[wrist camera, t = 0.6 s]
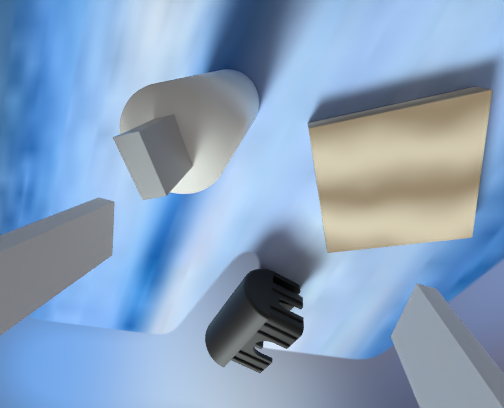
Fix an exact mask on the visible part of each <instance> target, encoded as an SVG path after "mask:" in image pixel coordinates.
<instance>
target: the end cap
mask: <svg viewBox="0 0 504 408" xmlns="http://www.w3.org/2000/svg"><path fill="white" fill-rule="evenodd" d="M299 293H300V286H299V285H298V284H296V283H294V282H292V281H290V280H289V279H287V278H285V277H283V276H281V275H279V274H277V273H275V272H273V271H270V270H263V269H257V270H253V271H251V272H249V273H248V274H247V275H246V277H245V278H244V279H243V281H242V282H241V283H240V285H239V286H238V287H237V289H236V290H235V291H234V293H233V294H232V295H231V297H230V298H229V299H228V301H227V302H226V303H225V305H224V306H223V307H222V309H221V310H220V311H219V313H218V314H217V315H216V317H215V318H214V319H213V321H212V322H211V323H210V325H209V326H208V328H207V331H206V335H205V336H206V337H205V342H206V347H207V350H208V352H209V354H210V356H211V357H212V358H213V360H214V361H215V362H216V363H218V364H219V365H221V366H222V367H225V366H226V364H227V363H228V362H229V361H230V360H232V361H234V362H237V363H239V364H241V365H243V366H245V367H248V368H250V369H252V370H254V371H256V372H259V373H261V372H262V371H263V370H264V369H265V368H266V367H268V366H269V365H270V364H271V363H272V358H271V357H268V356H266V355H264V354H262V353H260V352H258V351H257V350H256V349H255V347H257V348H260V349H262V348H263V341H269V342H273V343H275V344H277V345H279V346H281V347H284V348H286V349H287V348H288V347H290V346H291V345H292V344H293V343H294V342H295V341H296V340H297V339H298V338H299V337H300V336H301V335H302V333H303V330H304V323H303V317H301V316H299V315H297V314H295V313H293V312H291V311H290V310H291V309H292V308H293V307H294V306H295V307H297V308H299V309H302V308H303V298H302V297H301V296H299V295H298V294H299ZM254 346H255V347H254Z"/></svg>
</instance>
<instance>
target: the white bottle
mask: <svg viewBox="0 0 504 408" xmlns="http://www.w3.org/2000/svg"><path fill="white" fill-rule="evenodd" d="M258 110H259V96H258V92H257V90H256V87H255V85H254V84H253V82H252V81H251V80H250V79H249V78H248V77H247V76H246V75H245V74H243V73H241V72H239V71H237V70H233V69H223V70H218V71H214V72H209V73H204V74H199V75H194V76H189V77H185V78H180V79H175V80H170V81H165V82H160V83H156V84H151V85H148V86H146V87H143V88H142V89H140V90H138V91H137V92H136V93H135V94H133V95H132V97H131V98H130V99H129V100H128V102H127V103H126V105H125V107H124V109H123V112H122V115H121V119H120V135H118V136H115V137H113V139H114V141H115V143H116V145H117V147H118V149H119V152H120V154H121V156H122V158H123V160H124V162H125V164H126V166H127V168H128V170H129V173H130V175H131V177H132V179H133V181H134V183H135V185H136V187H137V189H138V191H139V194H140V196H141V198H142V200H146V199H152V198H157V197H163V196H167V195H168V194H169V192H172V193H177V194H190V193H196V192H199V191H202V190H204V189H206V188H208V187H209V186H211V185H212V184H213V183H214V182H215V181H216V180H217V179H218V178H219V177H220V175H221V174H222V172H223V171H224V169H225V168H226V166H227V164H228V163H229V161H230V159H231V158H232V156H233V154H234V153H235V151H236V149H237V148H238V146H239V145H240V143H241V141H242V140H243V138H244V136H245V135H246V133H247V131H248V130H249V128H250V126H251V125H252V123H253V122H254V120H255V118H256V116H257V113H258Z"/></svg>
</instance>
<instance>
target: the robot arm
mask: <svg viewBox="0 0 504 408" xmlns="http://www.w3.org/2000/svg"><path fill="white" fill-rule="evenodd" d="M113 225H114V201H110V200H106V199H103V198H96V199H94V200H91V201H89V202H86V203H83V204H81V205H78V206H76V207H73V208H70V209H68V210H65V211H63V212H60V213H57V214H55V215H52V216H50V217H47V218H44V219H42V220H39V221H37V222H34V223H31V224H29V225H26V226H24V227H21V228H19V229H16V230H13V231H11V232H8V233H6V234H3V235H0V335H1V334H3V333H4V332H6V331H7V330H8V329H10V328H11V327H13V326H14V325H15V324H17V323H18V322H19V321H21V320H22V319H24V318H25V317H27V316H28V315H29V314H31V313H32V312H34V311H35V310H36V309H38V308H39V307H41V306H42V305H43V304H45V303H46V302H48V301H49V300H50V299H52V298H53V297H55V296H56V295H57V294H59V293H60V292H61V291H63V290H64V289H66V288H67V287H68V286H70V285H71V284H73V283H74V282H75V281H77V280H78V279H80V278H81V277H82V276H84V275H85V274H87V273H88V272H89V271H91V270H92V269H94V268H95V267H96V266H98V265H99V264H101V263H102V262H103V261H105V260H106V259H108V258H109V257H110V256H112V248H113ZM391 338H392V341H393V343H394V346H395V348H396V350H397V353H398V355H399V358H400V360H401V362H402V365H403V367H404V370H405V372H406V374H407V377H408V380H409V382H410V384H411V387H412V389H413V392H414V395H415V397H416V399H417V402H418V404H419V407H420V408H504V374H503V372H502V371H501V370H500V368H499V367H498V366H497V365H496V363H495V362H494V361H493V360H492V358H491V357H490V356H489V355H488V353H487V352H486V351H485V350H484V348H483V347H482V346H481V344H480V343H479V342H478V341H477V339H476V338H475V337H474V336H473V334H472V333H471V332H470V331H469V329H468V328H467V327H466V326H465V324H464V323H463V322H462V320H461V319H460V318H459V317H458V316H457V314H456V313H455V312H454V310H453V309H452V308H451V307H450V305H449V304H448V303H447V302H446V300H445V299H444V298H443V296H442V295H441V294H440V293H439V291H438V290H437V289H435V288H432V287H428V286H424V285H421V284H417V283H416V285H415V288H414V290H413V292H412V294H411V296H410V298H409V300H408V302H407V304H406V306H405V308H404V310H403V312H402V314H401V317H400V319H399V321H398V323H397V325H396V327H395V329H394V331H393V333H392V335H391Z"/></svg>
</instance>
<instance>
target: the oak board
mask: <svg viewBox="0 0 504 408" xmlns="http://www.w3.org/2000/svg"><path fill="white" fill-rule="evenodd" d="M491 97H492V90H491V89H486V88H480V87H471V88H466V89H462V90H457V91H453V92H448V93H443V94H439V95H434V96H430V97H425V98H420V99H416V100H411V101H407V102H402V103H397V104H393V105H388V106H384V107H379V108H374V109H370V110H365V111H361V112H356V113H351V114H347V115H342V116H338V117H333V118H328V119H324V120H319V121H315V122H310V123H308V128H309V135H310V141H311V148H312V154H313V161H314V167H315V174H316V181H317V187H318V194H319V200H320V207H321V214H322V220H323V227H324V233H325V240H326V246H327V252H328V253H331V252H341V251H350V250H359V249H369V248H378V247H388V246H397V245H406V244H416V243H425V242H435V241H444V240H454V239H463V238H472V234H473V227H474V220H475V213H476V205H477V198H478V191H479V184H480V176H481V169H482V162H483V155H484V147H485V140H486V133H487V126H488V118H489V111H490V104H491Z"/></svg>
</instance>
